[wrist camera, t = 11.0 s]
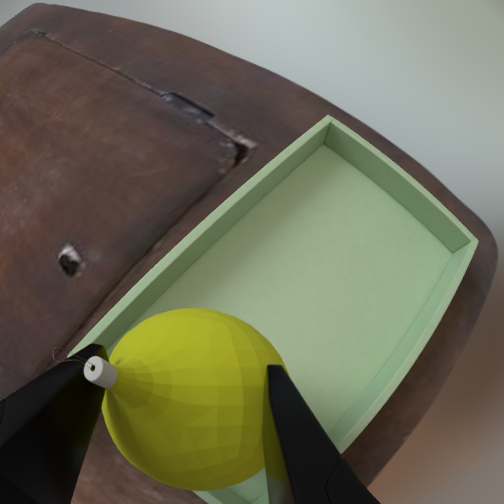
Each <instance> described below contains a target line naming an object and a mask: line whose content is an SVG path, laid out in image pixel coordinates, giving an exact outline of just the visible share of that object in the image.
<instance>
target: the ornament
mask: <svg viewBox="0 0 504 504" xmlns="http://www.w3.org/2000/svg"><path fill="white" fill-rule="evenodd" d="M55 348H56V347H55ZM60 348H62V347H60ZM62 349H63V348H62ZM64 350H65V349H64ZM53 351H54V349H53ZM65 351H67V350H65ZM68 352H69V351H68ZM70 353H71V352H70ZM72 354H73V353H72ZM74 355H75V354H74ZM75 356H76V355H75ZM77 357H78V356H77ZM53 358H54V356H53ZM79 358H80V357H79ZM81 359H82V358H81ZM54 360H55V359H54ZM83 360H84V359H83ZM55 361H57V360H55ZM67 361H70V360H67ZM77 361H79V360H77ZM85 361H86V360H85ZM109 361H110V363H109V362H107V361H105V360H104V359H102V358H100V357H97V356H94V357H91V358H90V359H89V360H88V361H87V362H86V364H85V367H84V375H85V377H86V378H87V379H88V380H89V381H90V382H92V383H94V384H96V385H99V386H101V387H104V388H106V391H105V395H104V399H103V403H102V411H103V415H104V419H105V423H106V426H107V428H108V430H109V433H110V435H111V437H112V439H113V441H114V443H115V445H116V446H117V448H118V449H119V451H120V452H121V453H122V455H123V456H124V457H125V458H126V459H127V460H128V461H129V462H130V463H131V464H132V465H133V466H134V467H136V468H137V469H139V470H141V471H142V472H144V473H145V474H147V475H148V476H150V477H151V478H153V479H154V480H156V481H159V482H161V483H164V484H166V485H169V486H171V487H176V488H180V489H186V490H192V491H213V490H218V489H222V488H226V487H230V486H233V485H237V484H239V483H241V482H243V481H245V480H247V479H249V478H251V477H253V476H255V475H256V474H257V473H258V472H260V471H261V470H262V469H263V468H264V467H265V461H264V452H263V442H262V421H263V391H264V380H265V372H266V366H267V365H268V364H280V365H282V366H283V367H284V369H285V370H286V372H287V373H288V371H287V368H286V366H285V364H284V362H283V360H282V358H281V356H280V355H279V353H278V352H277V351H276V349H275V348H274V347H273V345H272V344H271V343H270V341H269V340H268V339H266V338H265V337H264V336H263V335H262V334H261V333H260V332H258V331H257V330H256V329H255V328H254V327H253V326H251V325H250V324H248V323H246V322H244V321H242V320H241V319H239V318H237V317H235V316H232V315H229V314H226V313H223V312H220V311H216V310H212V309H205V308H196V307H192V308H180V309H175V310H170V311H167V312H163V313H159V314H156V315H154V316H152V317H150V318H148V319H146V320H144V321H143V322H141V323H140V324H139V325H137V326H136V327H135V328H133V329H132V330H130V331H129V332H128V333H126V334H125V336H124V337H123V338H122V339H121V340H120V341H119V343H118V344H117V345H116V347H115V348H114V350H113V352H112V354H111V356H110V358H109ZM58 362H64V361H58ZM80 362H81V361H80ZM82 363H83V362H82ZM288 375H289V373H288ZM289 377H290V376H289Z"/></svg>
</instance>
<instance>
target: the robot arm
mask: <svg viewBox="0 0 504 504" xmlns="http://www.w3.org/2000/svg"><path fill="white" fill-rule="evenodd" d="M75 355H76V356H75ZM75 355H74V354H73V355H72V356H70V357H68V358H67V359H65V360H64V362H61V363H59V364H57V365H56V366H54V367H53V368H51V369H50V370H48V371H46V372H45V373H43V374H42V375H40V376H39V377H37V378H36V379H34V380H32V381H31V382H29V383H28V384H26V385H25V386H23V387H22V388H20V389H18V390H17V391H15V392H14V393H12V394H11V395H9V396H8V397H6V399H3V400H1V401H0V504H70V503H71V500H72V496H73V493H74V490H75V486H76V483H77V480H78V476H79V473H80V470H81V467H82V464H83V461H84V458H85V455H86V452H87V449H88V446H89V443H90V440H91V437H92V434H93V431H94V428H95V426H96V423H97V420H98V417H99V414H100V411H101V407H102V403H103V399H104V395H105V391H106V388H104V387H101V386H99V385H96V384H94V383H92V382H90V381H89V380H88V379H87V378H86V377H85V375H84V367H85V364H86V362H87V361H88V360H89V359H90V358H91V357H94V356H97V357H100V358H102V359H104V360H105V361H107V362H109V363H110V361H109V358H108V355H107V352H106V349H105V347H104V346H103V345H100V344H95V343H91V344H89V345H87V346H86V347H84V348H83V349H81V350H79V351H78V352H76V353H75ZM77 356H78V357H77ZM79 357H80V358H79ZM81 358H82V359H81ZM83 359H84V360H83ZM67 360H70V361H67ZM77 360H79V361H77ZM85 360H86V361H85ZM80 361H81V362H80ZM82 362H83V363H82ZM262 442H263V452H264V461H265V471H266V480H267V489H268V498H269V504H381V503H380V502H379V501H378V500H377V499H376V498H375V497H374V496H373V495H372V494H371V493H370V492H369V491H368V489H367V488H366V487H365V486H364V485H363V484H362V483H361V481H360V480H359V479H358V477H357V476H356V475H355V473H354V472H353V471H352V469H351V468H350V467H349V465H348V464H347V462H346V461H345V459H344V458H343V457H341V454H340V452H339V451H338V449H337V448H336V446H335V445H334V443H333V442H332V440H331V439H330V438H329V436H328V435H327V433H326V432H325V430H324V429H323V427H322V426H321V424H320V423H319V421H318V420H317V418H316V417H315V415H314V413H313V412H312V410H311V409H310V407H309V406H308V404H307V403H306V401H305V400H304V398H303V397H302V395H301V394H300V392H299V391H298V389H297V387H296V386H295V384H294V383H293V381H292V380H291V378H290V377H289V375H288V373H287V372H286V370H285V369H284V367H283V366H282V365H280V364H268V365H267V366H266V372H265V380H264V391H263V421H262Z"/></svg>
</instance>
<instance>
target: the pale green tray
mask: <svg viewBox="0 0 504 504" xmlns="http://www.w3.org/2000/svg"><path fill="white" fill-rule="evenodd" d="M478 242H479V241H478V240H477V239H476V238H475V237H474V236H473V235H472V234H471V233H470V232H469V230H468V229H467V228H466V227H465V226H464V225H463V224H462V223H461V222H460V221H459V220H458V219H457V218H456V217H455V216H454V215H453V214H452V213H451V212H450V211H449V210H448V209H446V208H445V207H444V206H443V205H442V204H441V203H440V202H439V201H438V200H437V199H436V198H435V197H434V196H433V195H432V194H430V193H429V192H428V191H427V190H426V189H425V188H424V187H423V186H421V185H420V184H419V183H418V182H417V181H416V180H415V179H413V178H412V177H411V176H410V175H409V174H408V173H406V172H405V171H404V170H403V169H402V168H400V167H399V166H398V165H397V164H395V163H394V162H393V161H392V160H390V159H389V158H388V157H387V156H385V155H384V154H383V153H381V152H380V151H379V150H378V149H376V148H375V147H374V146H372V145H371V144H370V143H368V142H367V141H366V140H364V139H363V138H362V137H360V136H359V135H357V134H356V133H355V132H353V131H352V130H350V129H349V128H348V127H346V126H345V125H343V124H342V123H340V122H339V121H337V120H336V119H334V118H333V117H331V116H330V115H327V116H326V117H325V118H323V119H322V120H321V121H320V122H318V123H317V124H316V125H315V126H313V127H312V128H311V129H310V130H308V131H307V132H306V133H305V134H303V135H302V136H301V137H300V138H298V139H297V140H296V141H295V142H294V143H292V144H291V145H290V146H289V147H287V148H286V149H285V150H284V151H283V152H281V153H280V154H279V155H278V156H277V157H275V158H274V159H273V160H272V161H271V162H269V163H268V164H267V165H266V166H265V167H264V168H262V169H261V170H260V171H259V172H258V173H257V174H255V175H254V176H253V177H252V178H251V179H250V180H248V181H247V182H246V183H245V184H244V185H243V186H241V187H240V188H239V189H238V190H237V191H236V192H235V193H233V194H232V195H231V196H230V197H229V198H228V199H227V200H226V201H224V202H223V203H222V204H221V205H220V206H219V207H218V208H217V209H215V210H214V211H213V212H212V213H211V214H210V215H209V216H208V217H207V218H206V219H204V220H203V221H202V222H201V223H200V224H199V225H198V226H197V227H196V228H195V229H194V230H192V231H191V232H190V233H189V234H188V235H187V236H186V237H185V238H184V239H183V240H182V241H181V242H180V243H178V244H177V245H176V246H175V247H174V248H173V249H172V250H171V251H170V252H169V253H168V254H167V255H166V256H165V257H164V258H163V259H162V260H161V261H160V262H159V263H157V264H156V265H155V266H154V267H153V268H152V269H151V270H150V271H149V272H148V273H147V274H146V275H145V276H144V277H143V278H142V279H141V280H140V281H139V282H138V283H137V284H136V285H135V286H134V287H133V288H132V289H131V290H130V291H129V292H128V293H127V294H126V295H125V296H124V297H123V298H122V299H121V300H120V301H119V302H118V303H117V304H116V305H115V306H114V307H113V308H112V309H111V310H110V311H109V312H108V313H107V314H106V315H105V316H104V317H103V318H102V320H101V321H100V322H99V323H98V324H97V325H96V326H95V327H94V328H93V329H92V330H91V331H90V332H89V333H88V334H87V335H86V336H85V337H84V338H83V340H82V341H81V342H80V343H79V344H78V345H77V346H76V347H75V348H74V349H73V350H72V351H71V353H70V354H69V355H68V356H67V357H70V356H72V355H73V354H75V353H76V352H78V351H79V350H81V349H83V348H84V347H86V346H87V345H89V344H91V343H95V344H100V345H103V346H104V347H105V349H106V352H107V355H108V358H110V356H111V354H112V352H113V350H114V348H115V347H116V345H117V344H118V343H119V341H120V340H121V339H122V338H123V337H124V336H125V334H126V333H128V332H129V331H130V330H132V329H133V328H135V327H136V326H137V325H139V324H140V323H141V322H143V321H144V320H146V319H148V318H150V317H152V316H154V315H156V314H159V313H163V312H167V311H170V310H175V309H180V308H192V307H196V308H205V309H212V310H216V311H220V312H223V313H226V314H229V315H232V316H235V317H237V318H239V319H241V320H242V321H244V322H246V323H248V324H250V325H251V326H253V327H254V328H255V329H256V330H257V331H258V332H260V333H261V334H262V335H263V336H264V337H265V338H266V339H268V340H269V341H270V343H271V344H272V345H273V347H274V348H275V349H276V351H277V352H278V353H279V355H280V356H281V358H282V360H283V362H284V364H285V366H286V368H287V371H288V373H289V376H290V378H291V380H292V381H293V383H294V384H295V386H296V387H297V389H298V391H299V392H300V394H301V395H302V397H303V398H304V400H305V401H306V403H307V404H308V406H309V407H310V409H311V410H312V412H313V413H314V415H315V417H316V418H317V420H318V421H319V423H320V424H321V426H322V427H323V429H324V430H325V432H326V433H327V435H328V436H329V438H330V439H331V440H332V442H333V443H334V445H335V446H336V448H337V449H338V451H339V452H340V454H342V453H343V452H344V451H345V450H346V449H347V448H348V447H349V445H350V444H351V443H352V442H353V441H354V440H355V439H356V438H357V437H358V435H359V434H360V433H361V432H362V431H363V430H364V428H365V427H366V426H367V425H368V424H369V423H370V421H371V420H372V419H373V418H374V417H375V415H376V414H377V413H378V412H379V410H380V409H381V408H382V407H383V405H384V404H385V403H386V401H387V400H388V399H389V397H390V396H391V395H392V394H393V392H394V391H395V389H396V388H397V387H398V385H399V384H400V383H401V381H402V380H403V378H404V377H405V376H406V374H407V373H408V371H409V370H410V368H411V367H412V365H413V364H414V362H415V361H416V359H417V358H418V356H419V355H420V353H421V352H422V350H423V349H424V347H425V345H426V344H427V342H428V340H429V339H430V337H431V336H432V334H433V332H434V331H435V329H436V327H437V325H438V324H439V322H440V320H441V318H442V317H443V315H444V313H445V311H446V309H447V308H448V306H449V304H450V302H451V300H452V298H453V296H454V294H455V292H456V290H457V288H458V286H459V284H460V282H461V280H462V278H463V276H464V274H465V272H466V270H467V267H468V265H469V263H470V261H471V259H472V256H473V254H474V252H475V249H476V247H477V245H478ZM72 353H73V354H72ZM193 492H194V493H195V494H197V495H198V496H199V497H200V498H202V499H203V500H204V501H206V502H207V503H208V504H269V498H268V489H267V480H266V471H265V467H264V468H263V469H262V470H261V471H260V472H258V473H257V474H256V475H255V476H253V477H251V478H249V479H247V480H245V481H243V482H241V483H239V484H237V485H233V486H230V487H226V488H222V489H218V490H213V491H193Z"/></svg>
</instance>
